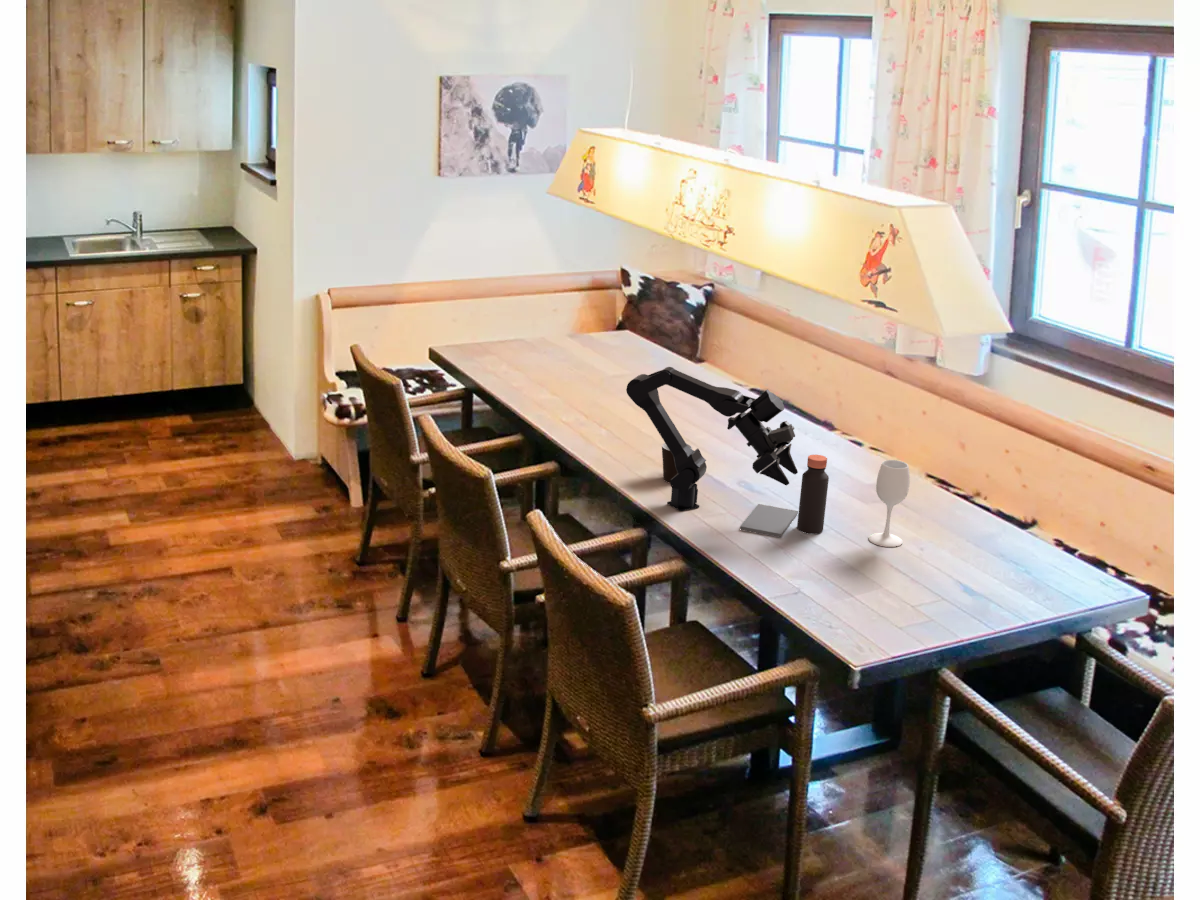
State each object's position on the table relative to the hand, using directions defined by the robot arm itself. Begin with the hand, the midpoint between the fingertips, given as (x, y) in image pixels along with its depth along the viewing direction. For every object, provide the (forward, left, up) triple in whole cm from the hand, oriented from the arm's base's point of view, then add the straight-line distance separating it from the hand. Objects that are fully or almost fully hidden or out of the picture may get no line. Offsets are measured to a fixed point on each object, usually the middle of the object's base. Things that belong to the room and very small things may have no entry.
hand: (792, 478), depth 338 cm
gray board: (-3, +4, -13) cm, 14 cm away
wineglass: (+16, -20, -13) cm, 29 cm away
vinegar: (+3, -5, -13) cm, 15 cm away
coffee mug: (-4, +42, -13) cm, 44 cm away
